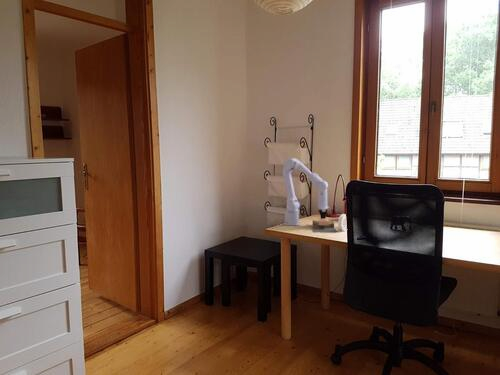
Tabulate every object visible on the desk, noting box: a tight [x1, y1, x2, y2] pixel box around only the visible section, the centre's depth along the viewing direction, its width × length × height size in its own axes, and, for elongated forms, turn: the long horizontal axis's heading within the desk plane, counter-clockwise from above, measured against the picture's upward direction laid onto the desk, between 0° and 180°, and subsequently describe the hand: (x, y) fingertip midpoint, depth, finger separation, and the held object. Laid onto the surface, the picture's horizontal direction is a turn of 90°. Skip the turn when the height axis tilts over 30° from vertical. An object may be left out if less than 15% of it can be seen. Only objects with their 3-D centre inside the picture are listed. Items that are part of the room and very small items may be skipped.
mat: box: [312, 227, 338, 233], centre depth 239 cm, size 14×10×1 cm
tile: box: [318, 217, 330, 225], centre depth 244 cm, size 6×9×2 cm, turn 173°
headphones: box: [337, 213, 347, 232], centre depth 241 cm, size 22×2×10 cm, turn 139°
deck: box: [312, 219, 335, 229], centre depth 250 cm, size 13×11×3 cm
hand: (323, 221), depth 250 cm, fingers closed
